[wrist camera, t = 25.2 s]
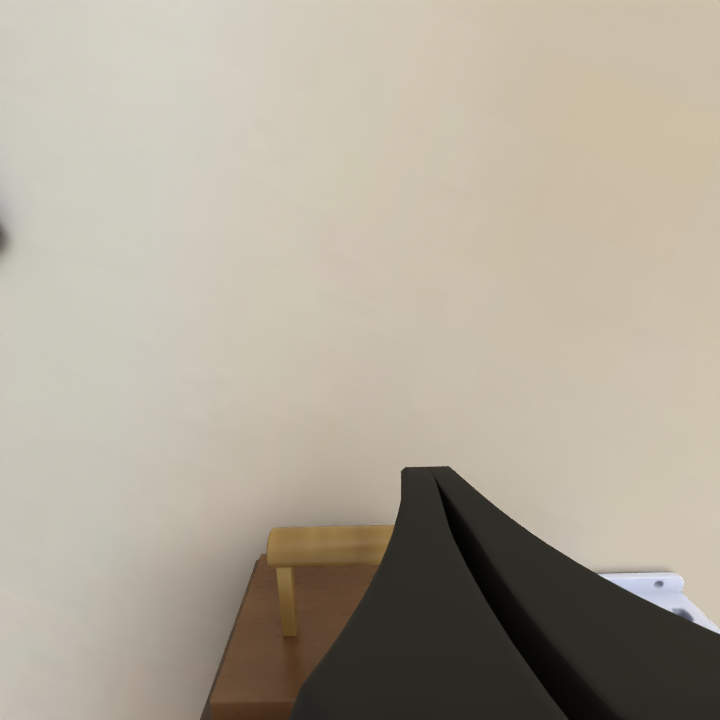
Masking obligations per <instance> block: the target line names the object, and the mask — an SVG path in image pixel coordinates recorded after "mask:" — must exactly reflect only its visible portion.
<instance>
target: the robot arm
mask: <svg viewBox="0 0 720 720" xmlns="http://www.w3.org/2000/svg"><path fill="white" fill-rule="evenodd" d="M683 585H684V580H683V578H682V577H681V576H679V575H678V574H677V573H675V572H651V573H609V574H596V573H594V572H592V571H591V570H589V569H587V568H586V567H584V566H582V565H580V564H579V563H577V562H575V561H574V560H572V559H570V558H569V557H567V556H566V555H564V554H562V553H561V552H559V551H558V550H556V549H554V548H553V547H551V546H550V545H548V544H547V543H545V542H544V541H542V540H541V539H539V538H538V537H536V536H535V535H533V534H532V533H530V532H529V531H528V530H526V529H525V528H524V527H522V526H521V525H519V524H518V523H517V522H515V521H514V520H513V519H511V518H510V517H509V516H507V515H506V514H505V513H503V512H502V511H501V510H500V509H498V508H497V507H496V506H495V505H493V504H492V503H491V502H490V501H488V500H487V499H486V498H485V497H484V496H482V495H481V494H480V493H479V492H478V491H477V490H475V489H474V488H473V487H472V486H471V485H470V484H469V483H467V482H466V481H465V480H464V479H463V478H462V477H461V476H459V475H458V474H457V473H456V472H455V471H454V470H452V469H451V468H450V467H449V466H442V467H405V468H404V469H403V470H402V471H401V503H400V508H399V512H398V516H397V519H396V522H395V526H394V529H393V532H392V535H391V538H390V541H389V543H388V546H387V548H386V551H385V553H384V556H383V558H382V560H381V563H380V565H379V567H378V569H377V571H376V573H375V575H374V577H373V579H372V581H371V583H370V585H369V587H368V589H367V591H366V592H365V594H364V596H363V598H362V600H361V601H360V603H359V604H358V606H357V608H356V609H355V611H354V612H353V614H352V616H351V617H350V619H349V620H348V622H347V624H346V625H345V627H344V628H343V630H342V632H341V633H340V635H339V636H338V637H337V639H336V640H335V642H334V643H333V645H332V646H331V647H330V649H329V650H328V651H327V653H326V654H325V655H324V657H323V658H322V659H321V661H320V662H319V663H318V664H317V666H316V667H315V668H314V670H313V671H312V672H311V674H310V675H309V676H308V678H307V679H306V680H305V682H304V683H303V684H302V686H301V688H300V691H299V693H298V695H297V698H296V700H295V703H294V706H293V708H292V711H291V713H290V716H289V719H288V720H720V629H719V628H718V627H717V626H716V625H715V624H714V623H713V622H712V621H711V620H710V619H709V618H708V617H707V616H706V615H705V614H704V613H703V612H702V611H701V610H700V609H698V608H697V607H696V606H695V605H694V604H693V603H692V602H691V601H690V600H689V599H688V598H687V597H686V596H685V595H684V594H683V593H682V590H683Z"/></svg>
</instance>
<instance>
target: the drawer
mask: <svg viewBox="0 0 720 720" xmlns="http://www.w3.org/2000/svg"><path fill="white" fill-rule="evenodd" d="M394 526H395V525H368V526H326V527H284V528H272V529H271V531H270V534H269V538H268V543H267V554H266V555H261V556H260V559H259V562H258V565H257V568H256V571H255V573H254V576H253V579H252V582H251V585H250V588H249V591H248V593H247V596H246V599H245V602H244V605H243V608H242V611H241V613H240V616H239V619H238V622H237V625H236V628H235V631H234V633H233V636H232V639H231V642H230V645H229V648H228V651H227V654H226V656H225V659H224V662H223V665H222V668H221V671H220V674H219V676H218V679H217V682H216V685H215V688H214V691H213V694H212V696H211V699H210V707H211V713H212V719H213V720H288V719H289V716H290V713H291V711H292V708H293V706H294V703H295V700H296V698H297V695H298V693H299V691H300V688H301V686H302V684H303V683H304V682H305V680H306V679H307V678H308V676H309V675H310V674H311V672H312V671H313V670H314V668H315V667H316V666H317V664H318V663H319V662H320V661H321V659H322V658H323V657H324V655H325V654H326V653H327V651H328V650H329V649H330V647H331V646H332V645H333V643H334V642H335V640H336V639H337V637H338V636H339V635H340V633H341V632H342V630H343V628H344V627H345V625H346V624H347V622H348V620H349V619H350V617H351V616H352V614H353V612H354V611H355V609H356V608H357V606H358V604H359V603H360V601H361V600H362V598H363V596H364V594H365V592H366V591H367V589H368V587H369V585H370V583H371V581H372V579H373V577H374V575H375V573H376V571H377V569H378V567H379V565H380V563H381V560H382V558H383V556H384V553H385V551H386V548H387V546H388V543H389V541H390V538H391V535H392V532H393V529H394Z"/></svg>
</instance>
